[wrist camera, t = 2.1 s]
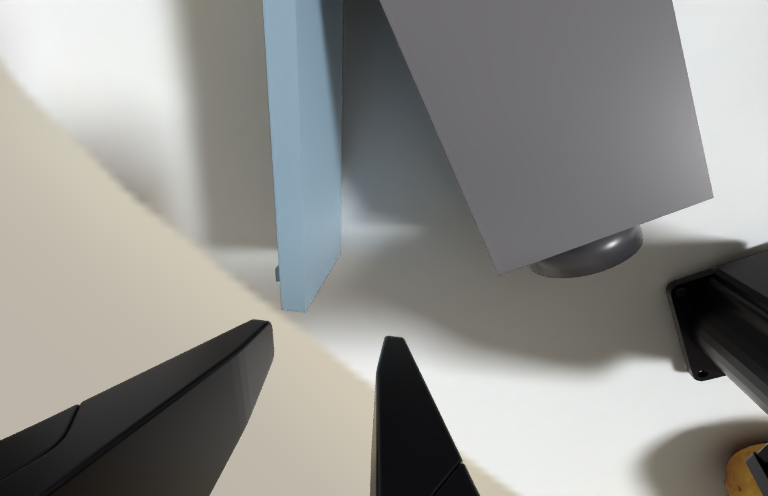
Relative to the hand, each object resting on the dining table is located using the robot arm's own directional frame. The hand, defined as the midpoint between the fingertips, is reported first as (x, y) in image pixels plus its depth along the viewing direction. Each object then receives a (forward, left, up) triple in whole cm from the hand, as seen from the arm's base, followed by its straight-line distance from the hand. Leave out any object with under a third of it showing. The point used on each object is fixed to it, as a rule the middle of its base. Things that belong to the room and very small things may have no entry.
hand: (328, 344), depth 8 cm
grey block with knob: (+4, -7, -12) cm, 15 cm away
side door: (+5, +1, -12) cm, 13 cm away
